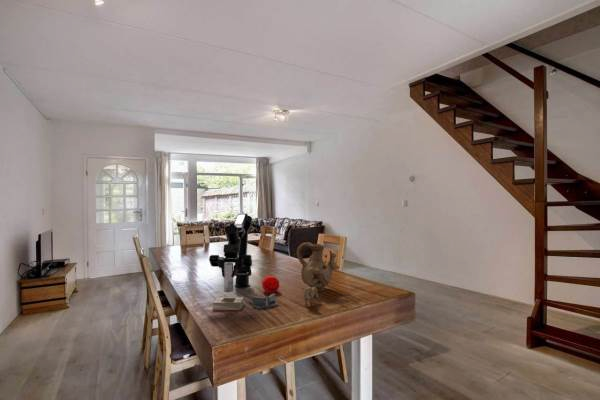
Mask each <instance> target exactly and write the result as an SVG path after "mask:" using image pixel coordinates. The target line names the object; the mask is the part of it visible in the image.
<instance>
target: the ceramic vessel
mask: <svg viewBox="0 0 600 400" xmlns="http://www.w3.org/2000/svg"><path fill="white" fill-rule="evenodd" d="M324 247H325V245H324V244H320V243H314V244H313V243H312V242H309V241H307V242H302V243H300V245H299V246H298V247H297V249H296V257H297V259H298V261H299V263H300V264H301V265H302V268H301V270H300V274H301V275H300V276H301V279H302V282H303V283H304V284H305V285H307V287H311V288H312V287H315V288H317V291H319V292H322V291H324V290H325V289H326V288H325V287H326V286H328V285H329V284H330V283H331V281H332V277H333V271H335V270H339V269H340V266H339V265H338V264H337V263H336V261H335V259H336V257H337V254H336V253H333V251H331V250H329V261H328V262H327V263H325V262H324V260H323V252H324ZM305 248H309V249H311V255H309V259H308V262H307V261H305V259H304V258H303V256H302V252H303V249H305Z"/></svg>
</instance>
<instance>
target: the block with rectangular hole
mask: <svg viewBox="0 0 600 400" xmlns="http://www.w3.org/2000/svg"><path fill="white" fill-rule="evenodd" d="M244 300H245V298H244V297H243V296H240V297H239V296H236V297H235V296H234V297H233V296H231V297H230V296H229V297H227V296H226V297H225V296H224V297H221V296H218V297H216V299H214V300H213V302H212V310H213V311H214V310H215V311H219V310H220V311H223V310H225V311H228V310H229V311H233V310H234V311H235V310H236V311H240V310H242V308H243V306H244V304H245V301H244Z"/></svg>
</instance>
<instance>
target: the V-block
mask: <svg viewBox="0 0 600 400" xmlns="http://www.w3.org/2000/svg"><path fill="white" fill-rule="evenodd" d="M249 303H250V304H251V306H253V307H254V308H255V309H256V310H258V309H259V310H260V309H265V308H272V306H273V307H278V306H279V302H277V301H276V293H270V295H269V296H267V297H265V296H264V297H263V296H255V295H253V296H252V299H251V300H249Z"/></svg>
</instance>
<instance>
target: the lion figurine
mask: <svg viewBox="0 0 600 400" xmlns="http://www.w3.org/2000/svg"><path fill="white" fill-rule="evenodd" d="M318 293H319V292H318V291H317V288H315V287H312V288H311V287H309V286H307V287H305V288H304V290H303V298H304V307H308V302H309V303H310V304H309V305H310V307H311V306H312V307H313V306H314V304H313V300H314V299H316V301H317V302H319V301H320V296H319V294H318Z"/></svg>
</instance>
